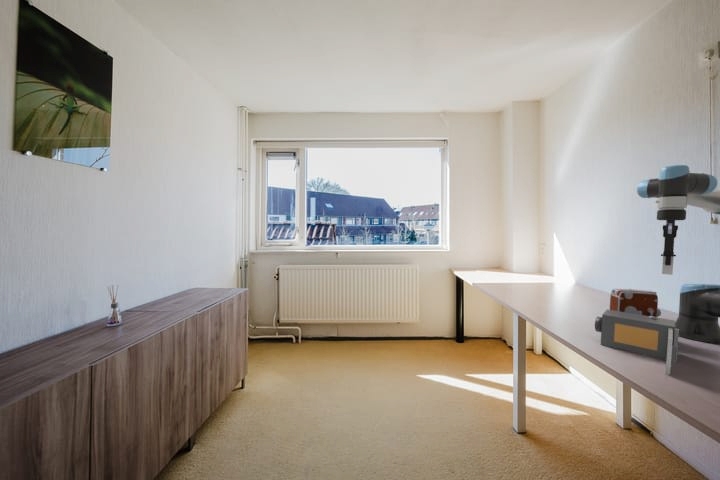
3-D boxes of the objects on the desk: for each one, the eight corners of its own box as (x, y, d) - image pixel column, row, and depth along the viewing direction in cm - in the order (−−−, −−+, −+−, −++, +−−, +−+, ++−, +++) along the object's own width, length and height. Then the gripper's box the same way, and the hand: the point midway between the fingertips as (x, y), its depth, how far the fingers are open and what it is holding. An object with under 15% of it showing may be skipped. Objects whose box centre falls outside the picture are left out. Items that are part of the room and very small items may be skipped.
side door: (665, 373, 98) (668, 338, 98) (666, 359, 109) (668, 327, 109) (674, 375, 97) (677, 340, 96) (674, 360, 108) (676, 329, 107)
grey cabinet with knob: (597, 336, 133) (599, 306, 133) (676, 353, 117) (679, 318, 116) (591, 343, 124) (593, 311, 124) (676, 362, 108) (679, 325, 107)
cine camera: (673, 342, 128) (676, 294, 127) (618, 338, 132) (621, 290, 131) (656, 335, 137) (659, 289, 136) (605, 331, 141) (608, 286, 140)
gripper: (657, 210, 121) (654, 271, 122) (656, 208, 112) (652, 274, 113) (686, 210, 116) (681, 273, 117) (686, 207, 107) (682, 277, 108)
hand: (667, 274), depth 115 cm, fingers closed
